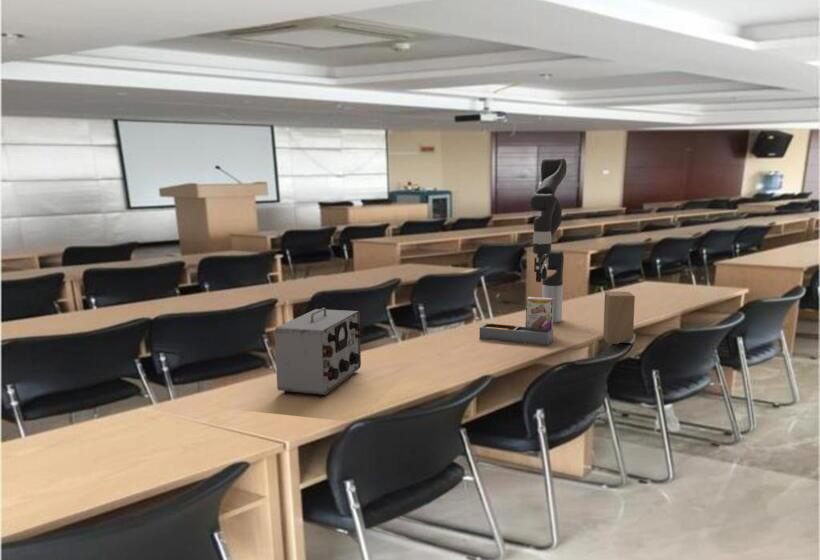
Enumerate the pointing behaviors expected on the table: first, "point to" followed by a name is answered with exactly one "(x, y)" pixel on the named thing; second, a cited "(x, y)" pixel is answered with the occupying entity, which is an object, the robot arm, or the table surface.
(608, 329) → the wooden block
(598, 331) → the table surface
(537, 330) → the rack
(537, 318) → the candy bar box
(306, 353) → the vintage electronic device
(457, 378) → the table surface
